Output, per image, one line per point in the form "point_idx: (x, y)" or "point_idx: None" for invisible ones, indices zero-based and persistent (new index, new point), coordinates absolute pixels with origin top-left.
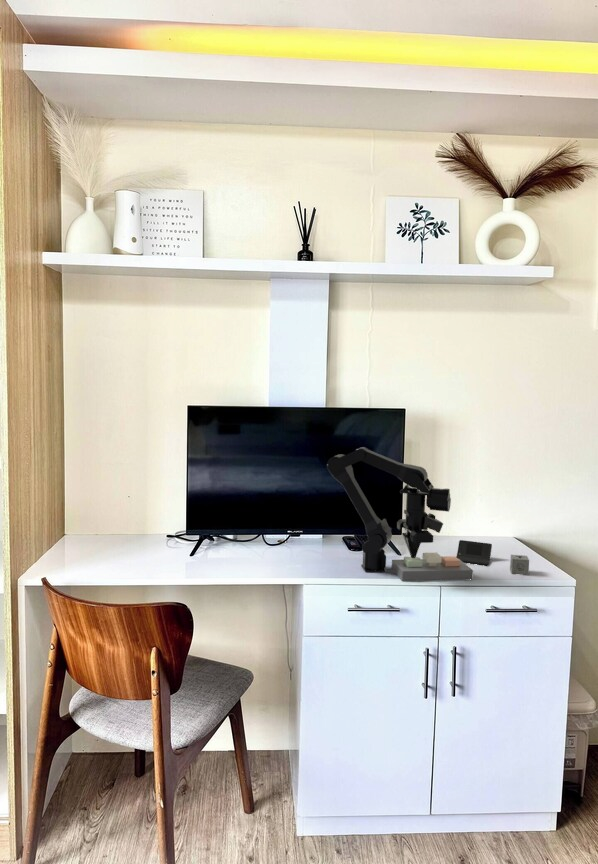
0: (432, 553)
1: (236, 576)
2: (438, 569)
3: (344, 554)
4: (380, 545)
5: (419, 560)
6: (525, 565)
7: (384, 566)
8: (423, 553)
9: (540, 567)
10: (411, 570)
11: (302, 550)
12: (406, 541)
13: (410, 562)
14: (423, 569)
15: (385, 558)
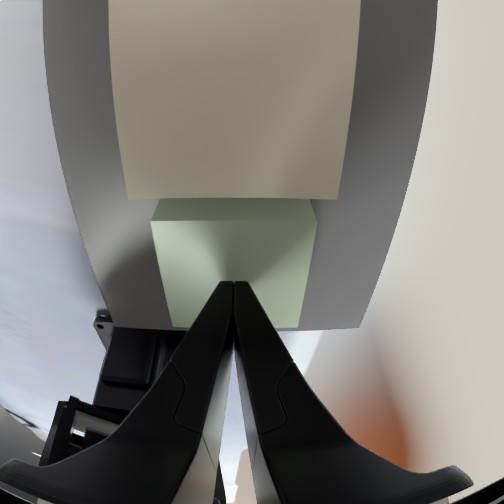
0: (159, 64)
1: (234, 474)
2: (398, 72)
3: (14, 362)
4: (221, 479)
5: (289, 243)
6: None
7: (157, 333)
8: (162, 197)
9: None
10: (363, 285)
11: (36, 409)
12: (215, 473)
13: (300, 306)
14: (368, 202)
15: (149, 369)
